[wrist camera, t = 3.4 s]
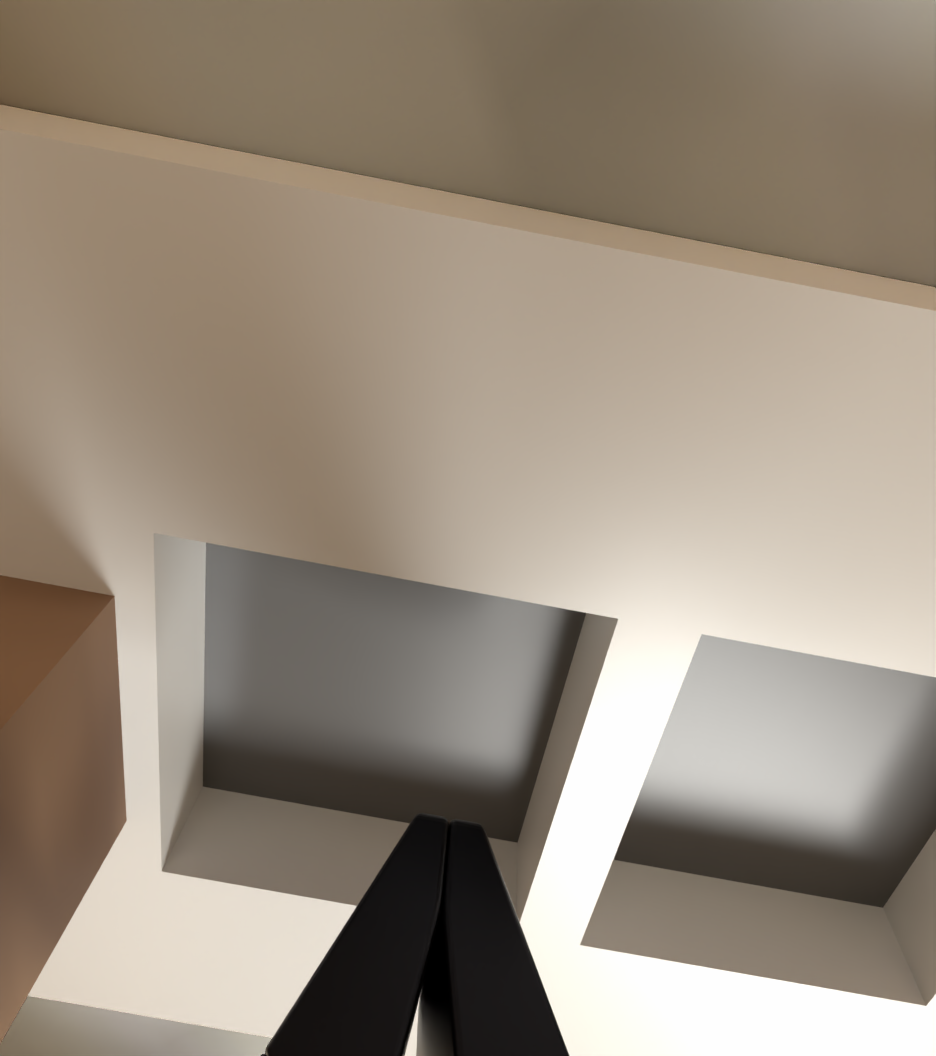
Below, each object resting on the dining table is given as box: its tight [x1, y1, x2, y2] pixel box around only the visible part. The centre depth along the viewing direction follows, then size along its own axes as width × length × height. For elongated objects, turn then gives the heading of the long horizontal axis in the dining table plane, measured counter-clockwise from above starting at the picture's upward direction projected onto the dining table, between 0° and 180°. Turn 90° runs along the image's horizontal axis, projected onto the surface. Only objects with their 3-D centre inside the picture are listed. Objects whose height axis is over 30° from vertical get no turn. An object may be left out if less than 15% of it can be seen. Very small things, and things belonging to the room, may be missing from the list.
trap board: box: [0, 105, 936, 1056], centre depth 10 cm, size 14×24×4 cm, turn 80°
